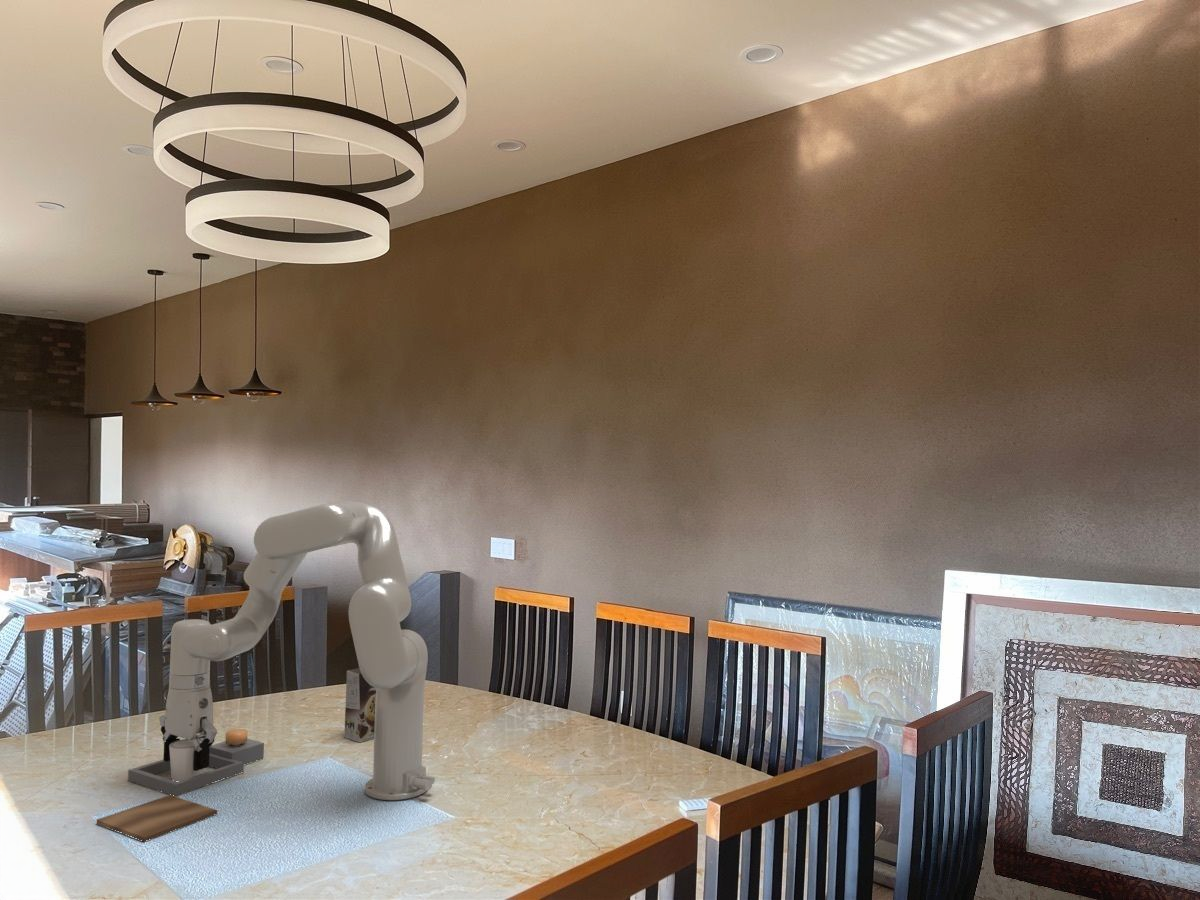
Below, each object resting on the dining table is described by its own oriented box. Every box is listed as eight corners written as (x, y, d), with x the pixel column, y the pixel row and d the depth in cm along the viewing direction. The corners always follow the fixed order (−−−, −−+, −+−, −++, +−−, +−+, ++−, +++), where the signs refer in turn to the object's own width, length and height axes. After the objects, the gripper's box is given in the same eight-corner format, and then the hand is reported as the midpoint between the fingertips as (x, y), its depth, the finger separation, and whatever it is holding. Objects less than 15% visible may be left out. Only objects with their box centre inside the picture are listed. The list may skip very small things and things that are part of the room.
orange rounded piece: (251, 751, 186) (251, 731, 186) (233, 757, 183) (234, 736, 183) (238, 747, 189) (238, 727, 189) (220, 753, 185) (221, 733, 185)
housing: (274, 762, 185) (275, 745, 185) (175, 796, 165) (175, 778, 165) (228, 749, 193) (229, 734, 193) (128, 780, 172) (128, 763, 173)
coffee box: (360, 743, 199) (362, 674, 200) (343, 737, 203) (345, 669, 203) (391, 734, 206) (393, 667, 207) (374, 729, 210) (376, 663, 211)
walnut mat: (217, 814, 157) (217, 810, 157) (144, 842, 144) (144, 837, 144) (169, 798, 164) (170, 794, 164) (96, 824, 151) (96, 819, 151)
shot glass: (194, 783, 172) (196, 748, 172) (161, 782, 172) (162, 747, 172) (211, 771, 179) (212, 738, 179) (178, 770, 179) (179, 737, 179)
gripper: (232, 683, 175) (229, 767, 174) (180, 671, 183) (176, 751, 183) (199, 690, 168) (196, 778, 168) (146, 678, 177) (143, 761, 176)
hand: (185, 764), depth 175 cm, fingers open, 9 cm apart
